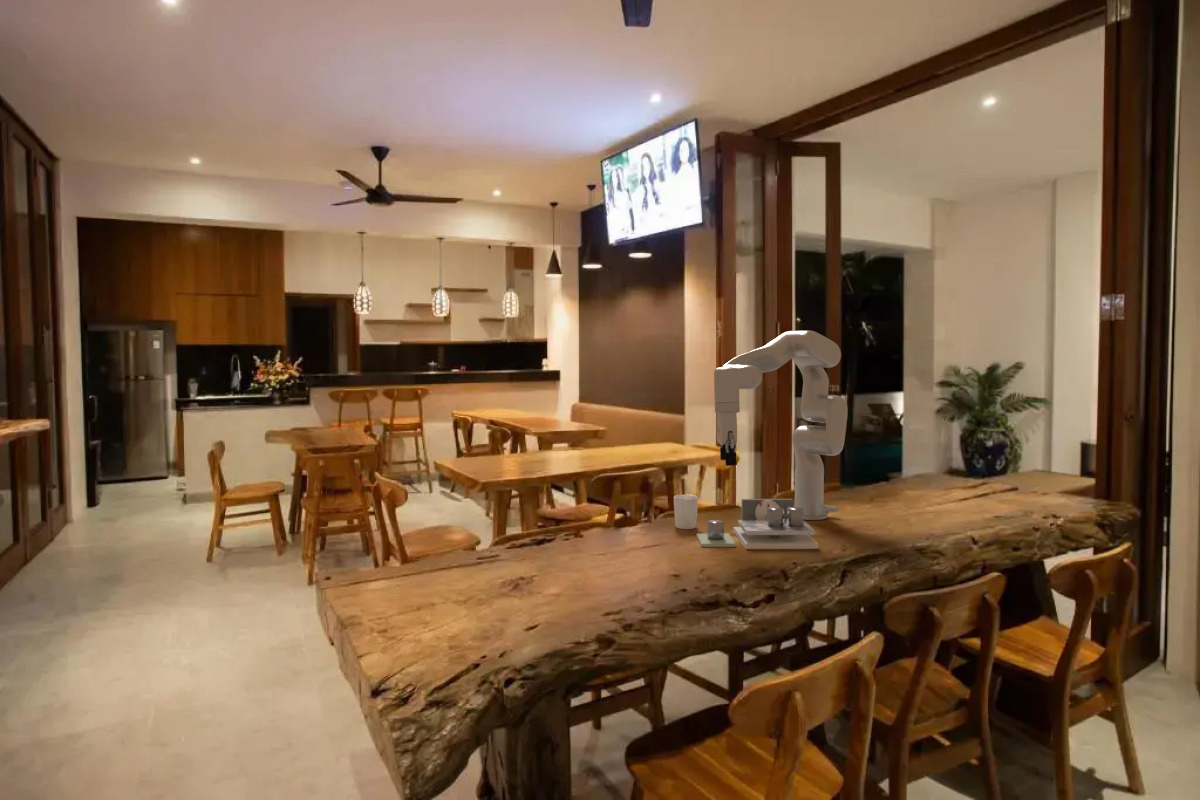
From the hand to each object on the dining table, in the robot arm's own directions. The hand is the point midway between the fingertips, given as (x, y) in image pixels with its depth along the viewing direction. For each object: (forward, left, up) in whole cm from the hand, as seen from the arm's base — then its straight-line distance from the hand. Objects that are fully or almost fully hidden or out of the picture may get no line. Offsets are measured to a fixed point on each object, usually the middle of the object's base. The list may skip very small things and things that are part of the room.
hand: (728, 462), depth 232 cm
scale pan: (-13, +7, -19) cm, 24 cm away
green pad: (+5, +7, -23) cm, 25 cm away
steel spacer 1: (-13, +7, -18) cm, 23 cm away
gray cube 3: (+5, +7, -22) cm, 24 cm away
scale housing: (-13, +5, -23) cm, 27 cm away
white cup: (+12, -12, -23) cm, 29 cm away
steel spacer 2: (-19, +7, -18) cm, 27 cm away
